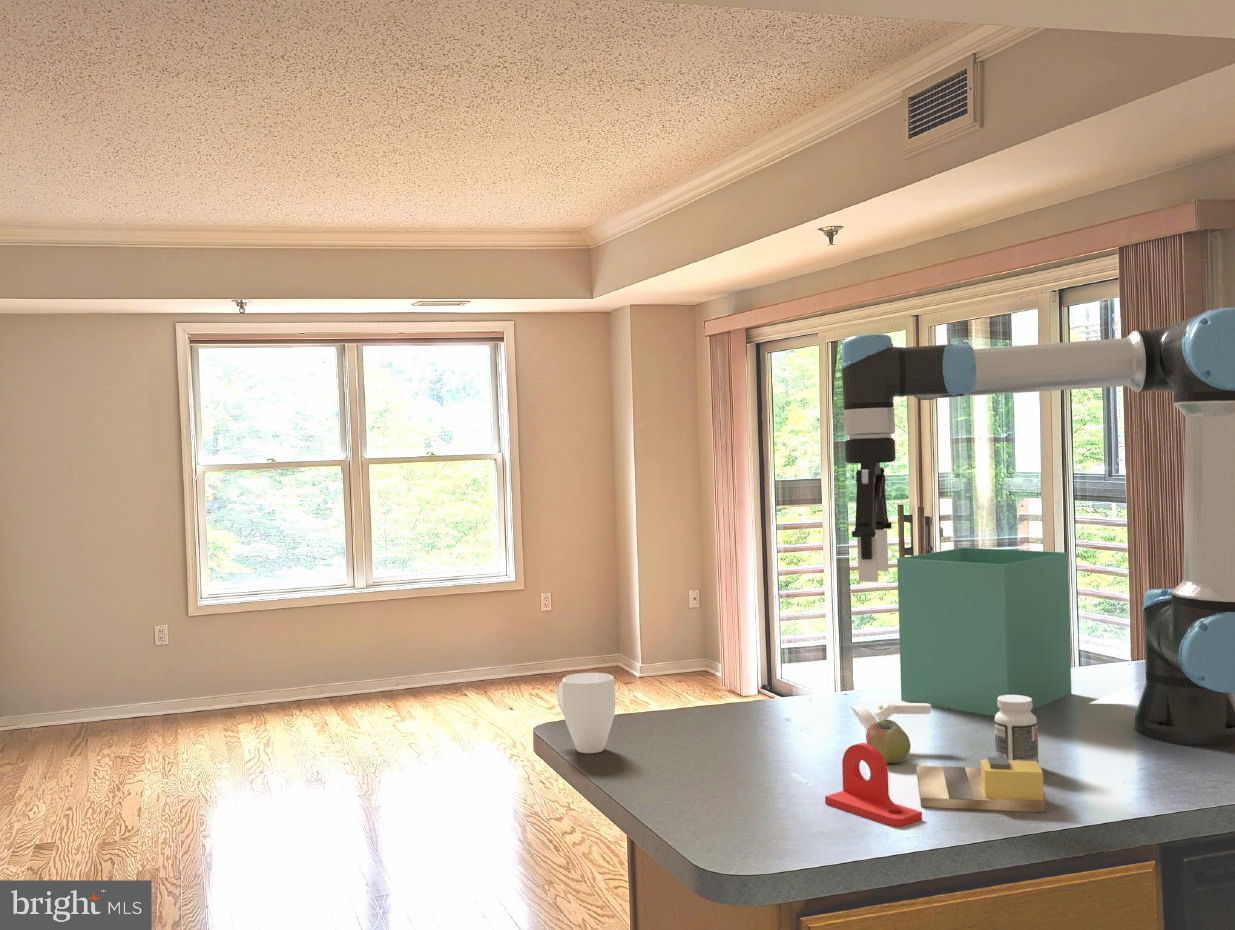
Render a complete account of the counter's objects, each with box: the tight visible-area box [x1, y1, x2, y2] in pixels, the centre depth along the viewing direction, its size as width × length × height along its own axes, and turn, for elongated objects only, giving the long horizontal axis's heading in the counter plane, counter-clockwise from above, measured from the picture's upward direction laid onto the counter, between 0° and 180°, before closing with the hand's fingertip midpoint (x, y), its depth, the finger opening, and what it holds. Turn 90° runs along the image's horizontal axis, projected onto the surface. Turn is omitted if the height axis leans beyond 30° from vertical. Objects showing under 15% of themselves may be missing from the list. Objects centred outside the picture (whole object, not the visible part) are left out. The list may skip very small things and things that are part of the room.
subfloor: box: [916, 765, 1046, 813], centre depth 143 cm, size 15×14×1 cm
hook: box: [851, 702, 932, 731], centre depth 165 cm, size 8×12×7 cm, turn 78°
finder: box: [980, 756, 1045, 801], centre depth 139 cm, size 7×5×4 cm
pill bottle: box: [994, 695, 1040, 765], centre depth 153 cm, size 6×6×10 cm
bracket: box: [824, 742, 923, 828], centre depth 137 cm, size 12×4×8 cm, turn 35°
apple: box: [865, 719, 912, 765], centre depth 159 cm, size 6×8×6 cm
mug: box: [556, 672, 616, 754], centre depth 171 cm, size 12×8×11 cm
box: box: [896, 547, 1072, 717], centre depth 195 cm, size 23×21×26 cm
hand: (874, 576), depth 164 cm, fingers open, 13 cm apart
